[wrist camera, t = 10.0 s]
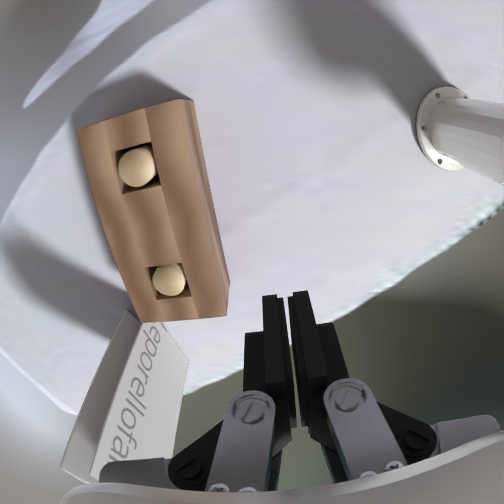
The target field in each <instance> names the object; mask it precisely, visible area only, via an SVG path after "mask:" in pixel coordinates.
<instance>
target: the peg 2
mask: <svg viewBox="0 0 504 504" xmlns="http://www.w3.org/2000/svg"><path fill="white" fill-rule="evenodd" d="M186 280H187V279H186V275H185V272H184V269H183V265H182V263H175V264H168V265H160V266H158V267H157V269H156V271H155V273H154V275H153V284H154V286H155V288H156V289H157V290H158V291H159V292H160V293H162V294H164V295H168V296H174V295H178V294H179V293H181V292H182V290H183V289H184V286H185V283H186Z"/></svg>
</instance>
